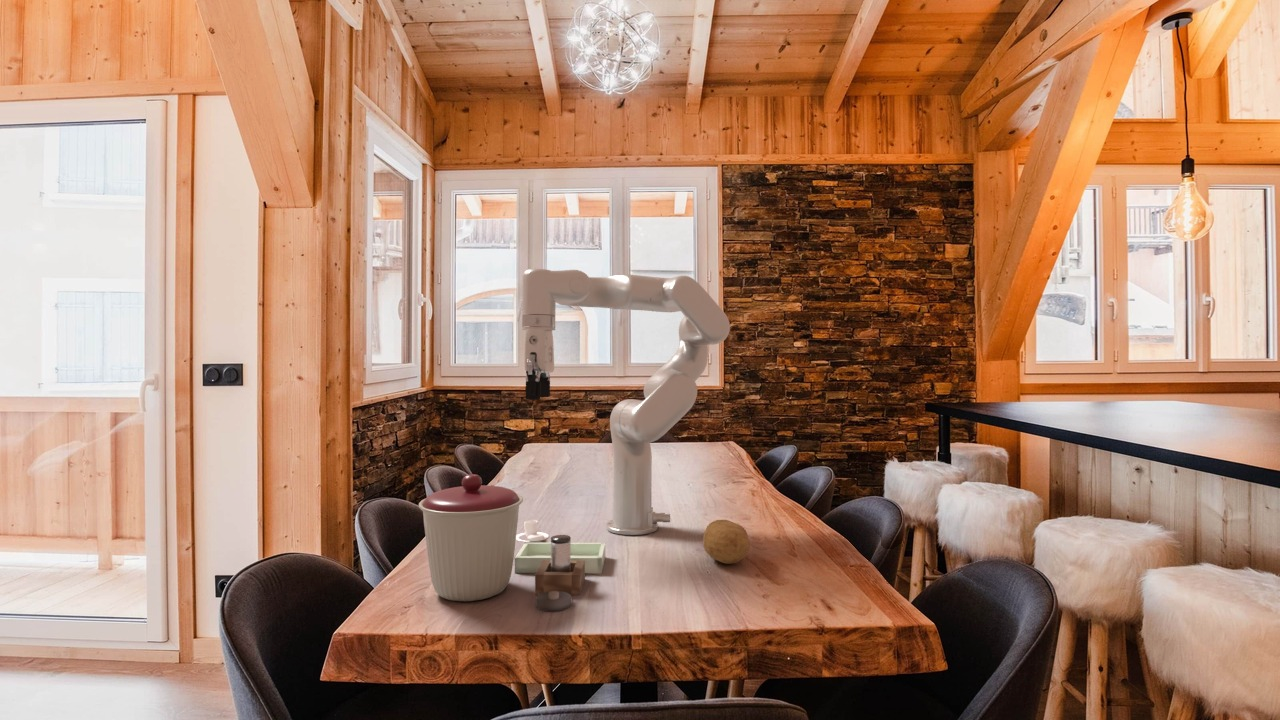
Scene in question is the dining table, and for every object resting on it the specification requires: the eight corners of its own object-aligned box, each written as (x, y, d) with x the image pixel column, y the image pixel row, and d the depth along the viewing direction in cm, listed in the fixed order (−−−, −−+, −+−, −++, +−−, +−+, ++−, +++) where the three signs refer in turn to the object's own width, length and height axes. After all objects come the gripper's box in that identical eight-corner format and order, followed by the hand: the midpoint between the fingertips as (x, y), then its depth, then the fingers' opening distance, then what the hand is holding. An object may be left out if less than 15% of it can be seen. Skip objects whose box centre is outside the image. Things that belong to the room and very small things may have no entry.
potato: (739, 549, 139) (739, 513, 139) (758, 571, 125) (758, 531, 125) (695, 551, 138) (695, 514, 138) (710, 573, 124) (710, 532, 124)
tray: (605, 557, 134) (605, 542, 134) (601, 573, 124) (601, 558, 124) (524, 556, 134) (524, 542, 134) (514, 572, 124) (514, 557, 124)
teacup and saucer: (545, 545, 144) (544, 527, 144) (509, 544, 144) (509, 526, 144) (551, 534, 152) (551, 517, 152) (518, 534, 153) (518, 517, 153)
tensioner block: (584, 578, 121) (584, 560, 121) (575, 611, 105) (575, 590, 105) (542, 578, 121) (542, 560, 121) (526, 611, 105) (526, 590, 105)
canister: (444, 572, 124) (444, 464, 124) (534, 576, 122) (534, 466, 122) (399, 609, 106) (399, 483, 106) (504, 614, 104) (504, 486, 104)
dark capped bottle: (571, 583, 119) (571, 534, 119) (569, 590, 115) (569, 540, 115) (552, 582, 119) (552, 534, 119) (549, 590, 115) (549, 540, 115)
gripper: (546, 321, 137) (545, 401, 137) (562, 325, 154) (561, 396, 154) (512, 321, 137) (511, 400, 138) (532, 325, 155) (531, 395, 155)
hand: (538, 398), depth 146 cm, fingers open, 9 cm apart
